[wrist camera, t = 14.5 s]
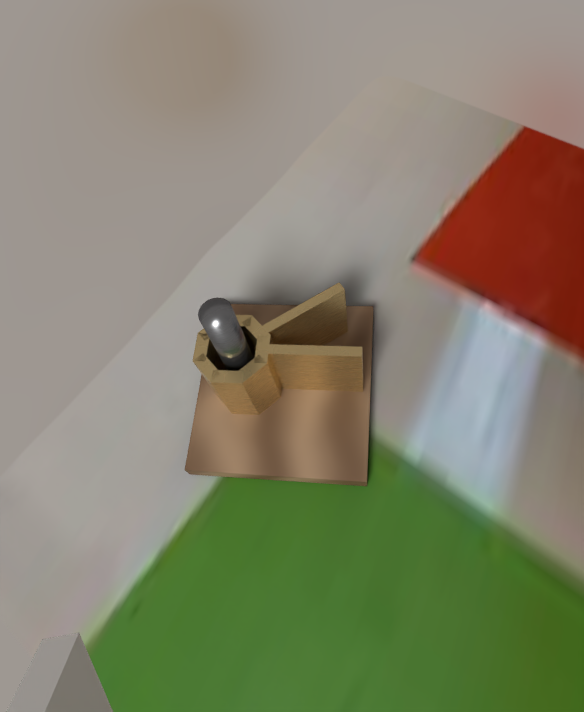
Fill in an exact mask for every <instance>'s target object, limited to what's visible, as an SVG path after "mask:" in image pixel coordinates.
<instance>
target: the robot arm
mask: <svg viewBox="0 0 584 712" xmlns="http://www.w3.org/2000/svg"><path fill="white" fill-rule="evenodd" d="M6 712H113V711H112V708H111V706H110V704H109V701H108V699H107V697H106V694H105V692H104V690H103V687H102V685H101V683H100V680H99V678H98V676H97V673H96V671H95V669H94V666H93V664H92V662H91V659H90V657H89V655H88V653H87V650H86V648H85V646H84V643H83V641H82V639H81V636H80V634H79V633H74V634H69V635H63V636H58V637H53V638H48V639H42V641H41V643H40V645H39V647H38V649H37V651H36V653H35V655H34V657H33V659H32V661H31V663H30V665H29V667H28V669H27V671H26V673H25V675H24V677H23V679H22V681H21V683H20V685H19V687H18V689H17V691H16V693H15V695H14V697H13V699H12V701H11V703H10V705H9V707H8V709H7V711H6Z"/></svg>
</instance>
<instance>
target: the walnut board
mask: <svg viewBox="0 0 584 712" xmlns="http://www.w3.org/2000/svg"><path fill="white" fill-rule="evenodd" d="M231 306H232V308H233V310H234V313H235V315H252V316H253V317H254V318H255V319H256V320H257V321H258V322H259V323H260V324H261V325H264V324H266V323H268V322H270V321H271V320H273V319H275V318H277V317H278V316H280V315H282V314H284V313H286V312H287V311H289V310H291V309H293V308H295V307H296V306H298V305H255V304H231ZM346 312H347V325H348V332H346V333H345V334H343V335H341V336H339V337H338V338H336V339H334V340H332V341H331V342H329V343H327V344H325V345H324V346H351V347H362V353H363V392H352V391H327V390H302V389H282V391H281V398H279V399H278V400H277V401H276V402H274V403H273V404H272V405H271V406H270V407H268V408H267V409H266V410H265V411H263V412H262V413H261V414H260V415H248V414H232V413H231V412H230V411H229V410H228V409H227V407H226V406H225V405H224V404H223V403H222V401H221V400H220V399H219V398H218V397H217V395H216V394H215V393H214V391H213V390H212V388H211V387H210V385H209V384H208V382H207V381H206V380H205V378H204V377H203V375H202V376H201V381H200V387H199V393H198V398H197V404H196V409H195V415H194V421H193V426H192V432H191V437H190V443H189V449H188V454H187V460H186V465H185V471H187V472H188V473H189V474H193V475H208V476H223V477H238V478H253V479H268V480H283V481H298V482H313V483H327V484H342V485H357V486H367V472H368V445H369V417H370V390H371V363H372V336H373V306H346Z"/></svg>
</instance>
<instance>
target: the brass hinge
mask: <svg viewBox="0 0 584 712" xmlns="http://www.w3.org/2000/svg"><path fill="white" fill-rule="evenodd" d="M236 317H237V320H238V322H239V324H240V327H241V329H242V331H243V334H244V336H245V338H246V341H247V343H248V345H249V348H250V350H251V352H252V355H253V357H254V359H253V360H251V361H250V362H249V363H248V364H246V365H245V366H244V367H243V368H241V369H240V370H239V371H227V369H226V367H225V366H224V364H223V362H222V360H221V358H220V357H219V355H218V353H217V351H216V349H215V348H214V346H213V344H212V342H211V340H210V338H209V337H208V335H207V333H206V331H205V329H203V330H201V331H200V332H199V333H198V335H197V341H196V346H195V351H194V356H193V362H194V364H195V365H196V366H197V368H198V369H199V371H200V372H201V374H202V375H203V377H204V378H205V380H206V381H207V382H208V384H209V385H210V387H211V388H212V390H213V391H214V393H215V394H216V395H217V397H218V398H219V399H220V400H221V401H222V403H223V404H224V405H225V406H226V407H227V409H228V410H229V411H230V412H231V413H232V414H248V415H260V414H261V413H262V412H263V411H265V410H266V409H267V408H268V407H270V406H271V405H272V404H273V403H274V402H276V401H277V400H278V399H279V398H281V391H282V389H302V390H327V391H352V392H363V353H362V347H351V346H324V345H325V344H327V343H329V342H331V341H332V340H334V339H336V338H338V337H339V336H341V335H343V334H345V333H346V332H348V325H347V312H346V299H345V289H344V288H343V287H342V285H341V284H340V283H337V284H336V285H334V286H332V287H330V288H328V289H327V290H325V291H323V292H321V293H320V294H318V295H316V296H314V297H312V298H311V299H309V300H307V301H305V302H303V303H302V304H300V305H298V306H296V307H295V308H293V309H291V310H289V311H287V312H286V313H284V314H282V315H280V316H278V317H277V318H275V319H273V320H271V321H270V322H268V323H266V324H264V325H261V324H260V323H259V322H258V321H257V320H256V319H255V318H254V317H253V316H252V315H236Z"/></svg>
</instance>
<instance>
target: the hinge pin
mask: <svg viewBox="0 0 584 712" xmlns="http://www.w3.org/2000/svg"><path fill="white" fill-rule="evenodd" d="M198 317H199V320H200V322H201V324H202V326H203V328H204V329H205V331H206V333H207V335H208V337H209V338H210V340H211V342H212V344H213V346H214V348H215V349H216V351H217V353H218V355H219V357H220V358H221V360H222V362H223V364H224V366H225V367H226V369H227V371H239V370H240V369H241V368H243V367H244V366H245V365H246V364H248V363H249V362H250V361H251V360H253V359H254V357H253V355H252V352H251V350H250V348H249V345H248V343H247V341H246V338H245V336H244V334H243V331H242V329H241V327H240V324H239V322H238V320H237V317H236V315H235V313H234V310H233V308H232V306H231V304H230V303H229V302H228V301H227V300H225V299H223V298H213V299H210V300H208V301H206V302H205V303H204V304H203V305H202V306H201V307H200V309H199V313H198Z"/></svg>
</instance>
